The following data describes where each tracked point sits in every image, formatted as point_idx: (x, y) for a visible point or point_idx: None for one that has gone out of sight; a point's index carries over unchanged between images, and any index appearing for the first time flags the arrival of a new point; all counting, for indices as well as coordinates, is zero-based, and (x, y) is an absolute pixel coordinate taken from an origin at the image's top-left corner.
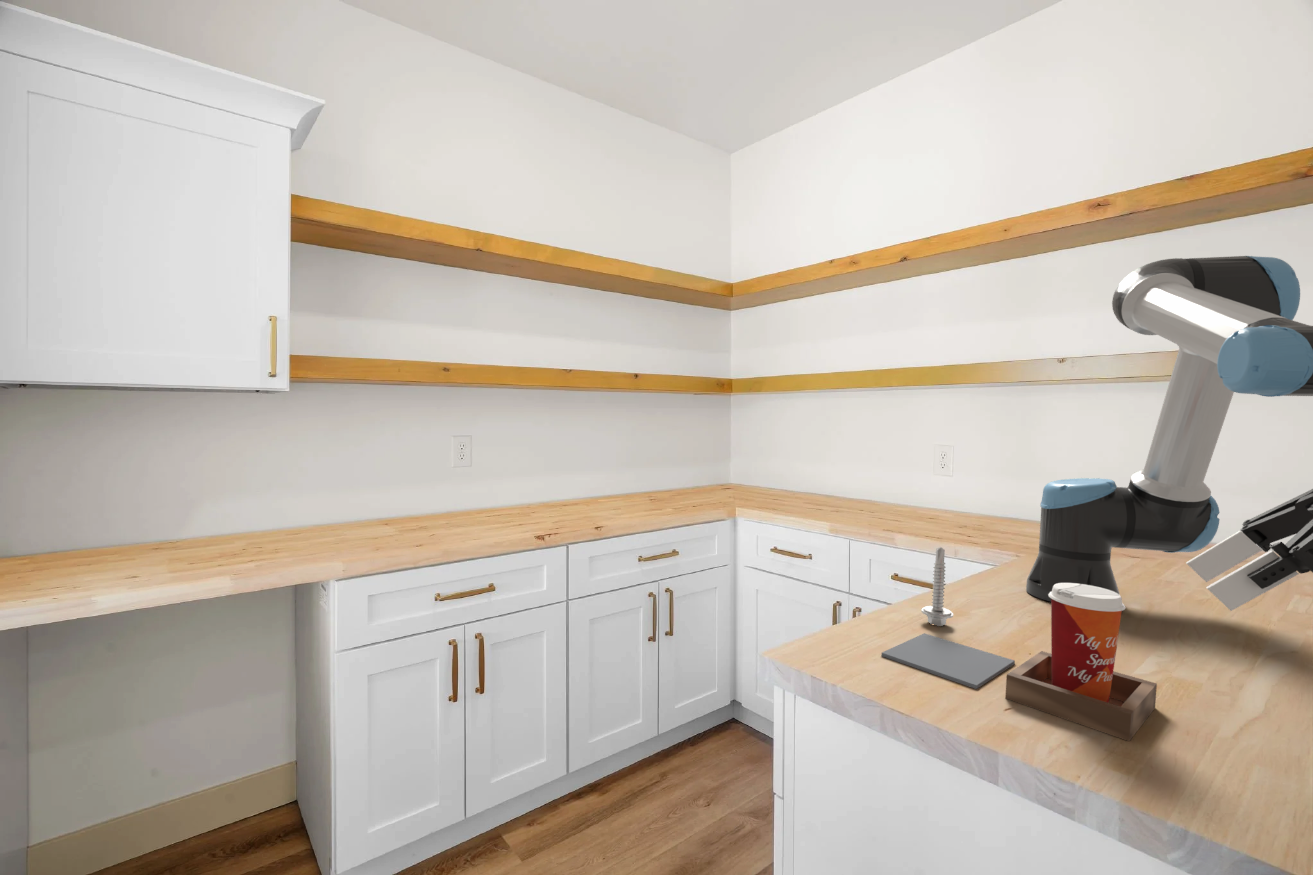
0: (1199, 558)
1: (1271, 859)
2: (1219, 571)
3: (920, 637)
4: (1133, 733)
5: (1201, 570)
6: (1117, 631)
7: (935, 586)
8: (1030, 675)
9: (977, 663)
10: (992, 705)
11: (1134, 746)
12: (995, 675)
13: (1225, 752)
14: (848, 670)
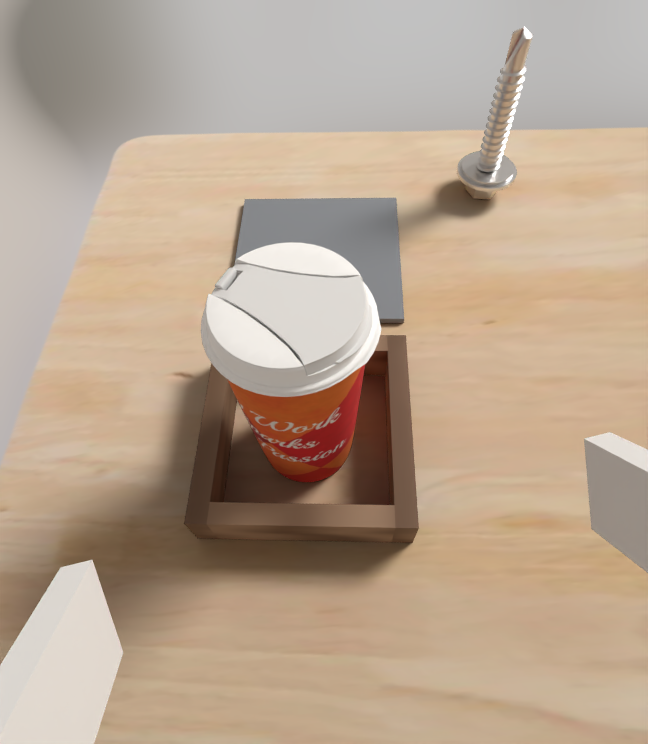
0: (618, 465)
1: None
2: (640, 555)
3: (368, 202)
4: (227, 537)
5: (603, 495)
6: (284, 417)
7: (489, 119)
8: None
9: None
10: (180, 357)
11: (183, 549)
12: None
13: (288, 682)
14: (153, 204)
